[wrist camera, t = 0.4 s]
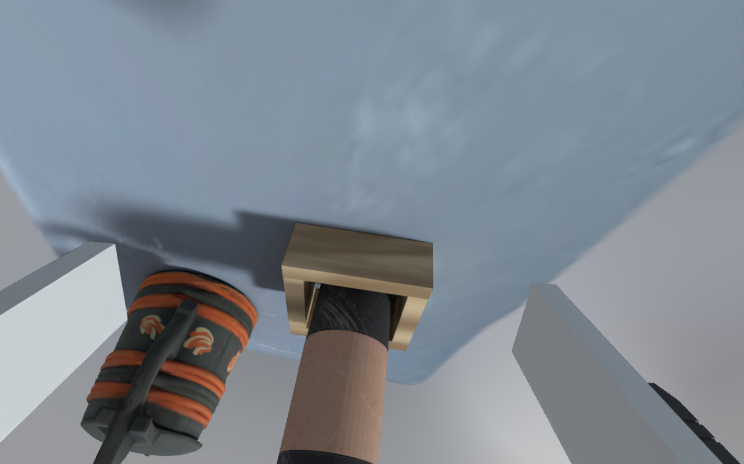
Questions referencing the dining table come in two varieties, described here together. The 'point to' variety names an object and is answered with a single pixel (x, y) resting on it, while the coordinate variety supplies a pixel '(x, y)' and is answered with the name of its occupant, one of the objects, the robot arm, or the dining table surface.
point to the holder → (357, 274)
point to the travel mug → (340, 380)
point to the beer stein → (168, 366)
